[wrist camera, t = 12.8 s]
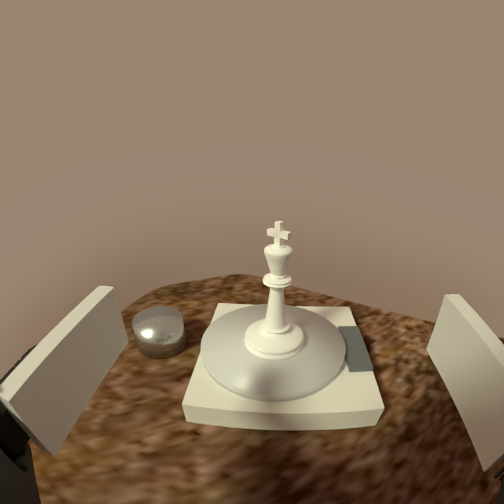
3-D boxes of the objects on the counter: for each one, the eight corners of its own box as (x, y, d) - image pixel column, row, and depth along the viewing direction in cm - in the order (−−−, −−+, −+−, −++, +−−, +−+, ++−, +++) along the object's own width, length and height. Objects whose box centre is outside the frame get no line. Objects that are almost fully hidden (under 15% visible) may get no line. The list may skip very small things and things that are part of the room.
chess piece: (267, 317, 26) (269, 210, 23) (314, 336, 23) (327, 220, 20) (232, 343, 22) (227, 223, 19) (283, 369, 20) (292, 237, 16)
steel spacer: (191, 332, 29) (188, 308, 28) (178, 363, 24) (173, 337, 23) (148, 327, 29) (143, 304, 28) (131, 355, 24) (123, 331, 23)
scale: (345, 323, 30) (350, 300, 29) (375, 425, 17) (388, 401, 16) (219, 320, 31) (217, 296, 30) (186, 421, 18) (180, 396, 17)
